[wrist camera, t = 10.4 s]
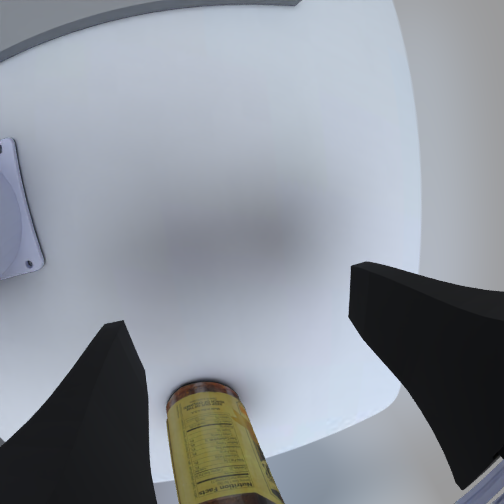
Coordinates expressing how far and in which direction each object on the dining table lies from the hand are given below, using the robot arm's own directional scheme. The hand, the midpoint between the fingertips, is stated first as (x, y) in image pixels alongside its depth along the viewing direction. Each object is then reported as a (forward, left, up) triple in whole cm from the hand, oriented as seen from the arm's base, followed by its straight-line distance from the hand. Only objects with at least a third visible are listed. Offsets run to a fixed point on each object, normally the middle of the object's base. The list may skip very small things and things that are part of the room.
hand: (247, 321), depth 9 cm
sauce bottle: (-3, -14, -10) cm, 17 cm away
